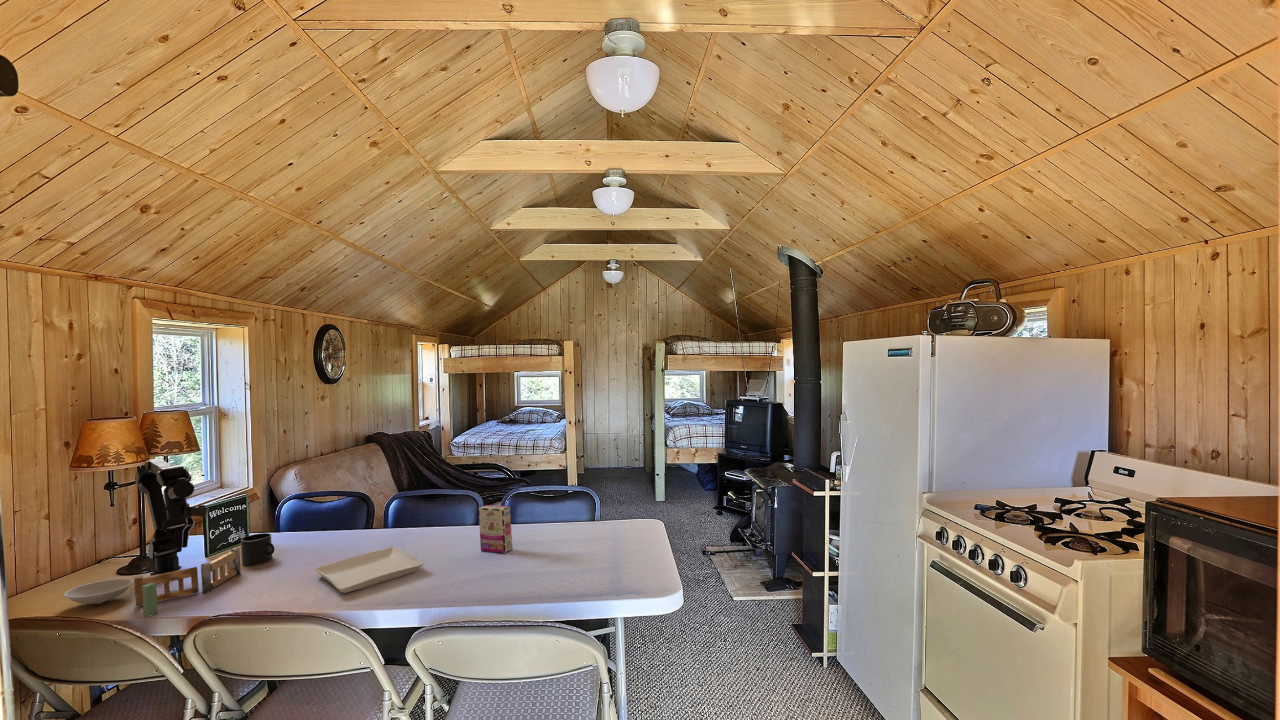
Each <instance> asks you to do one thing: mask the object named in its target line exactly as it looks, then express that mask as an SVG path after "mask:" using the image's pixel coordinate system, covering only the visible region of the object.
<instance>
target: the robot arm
mask: <svg viewBox="0 0 1280 720" xmlns="http://www.w3.org/2000/svg"><path fill="white" fill-rule="evenodd" d="M191 481H192V475H191V474H190V472H189V471H188V469H186V467H184V465H182V464H174V465H173V464H170V462H169V463H168V462H166V460H165V459H164V458H161V457H160V458H153V459H148V460H146V461H145V462H144V465H141V466H140V467H139V468H138V469H137V470H136V472H135V475H134V482H135V485H137V487H138V490H139V491H140V492H142V493H143V492H144V493H143V494H145V496H146V499H147V504H148V507H149V508H148V509H149V512H150V517H151V521H152V524H153V525H152V526H153V529H154V530H153V531H154V532H153V534H152V536H151V538H150V542H149V546H148V548H147V556H148V558H150V559H151V560H152V561H153V571H152V572H150V574H149V575H150V576H153V575H158V574H163V573H168V572H173V571H178V570H180V569H181V568H182V565H180V562H179V560H180V559H179V556H178V553H181V552H182V550H183V549H185V548H187V547H188V542H189V535H190V531H191V530H192V528H194V527H195V525H196V523H195V518H193V517H200V518H207V517H208V514H209V510H210V508H209V507H206V505H205V504H199V505H198V506H190V504H189V502H188V501H187V498H188V497H190V496H192V495H193V493H194V491H195V486H194V484H193V483H192V482H191ZM163 487H165V488H163ZM162 488H163V490H162Z"/></svg>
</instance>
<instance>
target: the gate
mask: <svg viewBox="0 0 1280 720" xmlns="http://www.w3.org/2000/svg"><path fill="white" fill-rule="evenodd" d="M198 575H199V574H198V566H194V567H188V568H183V569H177V570H175V571H173V572H168V573H163V574H155V575H150V576H149V575H148V576H145V577H144V575H141V576H136V577H134V578H133V580H134V583H133V584H134V593H135V607H139V606H143V594H142V586H143V585H146V584H149V583H155V584H156V585H159V584H163V588H164V593H160V594H157V603H158V602H162V601H166V600H172V599H175V598H181V597H185V596H188V595H193V594H198V593H199V592H200V591H199V576H198ZM189 578H191V579H190V581H191V583H190V584H191V587H188V588H187V587H186V588H184V584H185V583H184V579H189ZM173 581H174V582H175V581H177V582H178V583H177V584H178V590H175V591H171V589H170V582H173Z"/></svg>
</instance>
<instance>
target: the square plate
mask: <svg viewBox="0 0 1280 720" xmlns="http://www.w3.org/2000/svg"><path fill="white" fill-rule="evenodd" d="M423 565H425V563H424V562H423V561H421V560H420V559H418V558H416V557H415V556H412V555H411V554H409V553H407V552H405V551H403V550H401V549H399V548H397V547H394V546H391V547H387V548H384V549H380V550H375V551H371V552H367V553H364V554H361V555H360V554H359V555H356V556H353V557H350V558H346V559H343V560H339V561H335V562H333V563H329V564H326V565H322V566H318V567H316V568H314V572H316V573H317V574H318V575H320V576H321V577H322V578H324V579H325V580H327V581H328V582H329V583H330V584H332V585H333V586H334V587H335V588H336V589H337V590H338V591H339V592H340V593H343V594H345V593H347V594H348V593H351V592H354V591H358V590H361V589H365V588H368V587H371V586H374V585H377V584H380V583H383V582H388V581H390V580H393V579H396V578H400V577H402V576H405V575H407V574H410V573H413V572H415V571H418V570H419V569H420V568H421V567H422V566H423Z"/></svg>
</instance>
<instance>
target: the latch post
mask: <svg viewBox="0 0 1280 720" xmlns="http://www.w3.org/2000/svg"><path fill="white" fill-rule="evenodd" d="M157 593H158V592H157V584H155V583H149V584H146V585H143V586H142V594H143V605H142V606H143V616H144V617H147V616H149V617H151V616H150V615H152V616H154V615H153V614H155V613H159V611H158V602H157V595H158V594H157ZM155 615H156V614H155Z"/></svg>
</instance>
